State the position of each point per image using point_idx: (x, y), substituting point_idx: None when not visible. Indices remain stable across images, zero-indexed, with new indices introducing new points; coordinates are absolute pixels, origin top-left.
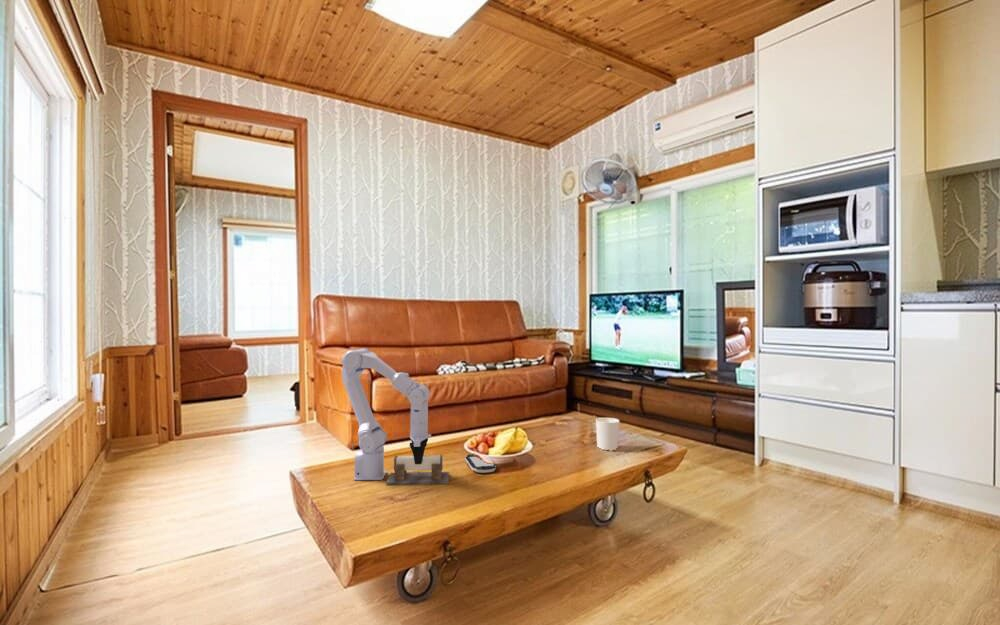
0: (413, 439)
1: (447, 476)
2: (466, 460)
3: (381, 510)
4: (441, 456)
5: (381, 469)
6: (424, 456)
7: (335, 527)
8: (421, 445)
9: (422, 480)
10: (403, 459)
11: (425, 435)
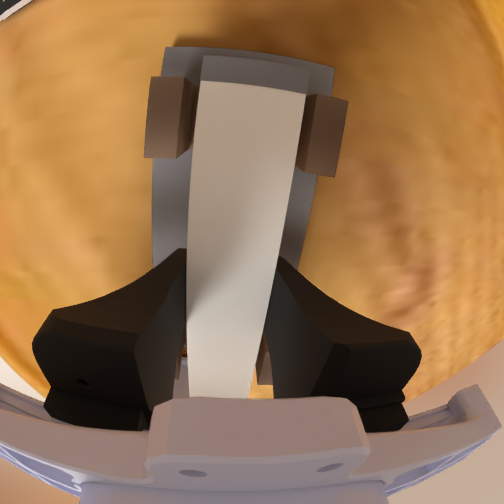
0: (417, 481)
1: (255, 57)
2: (24, 1)
3: (452, 321)
4: (256, 71)
5: (185, 387)
6: (219, 252)
7: (459, 370)
8: (404, 385)
9: (296, 208)
10: (250, 376)
11: (372, 494)
